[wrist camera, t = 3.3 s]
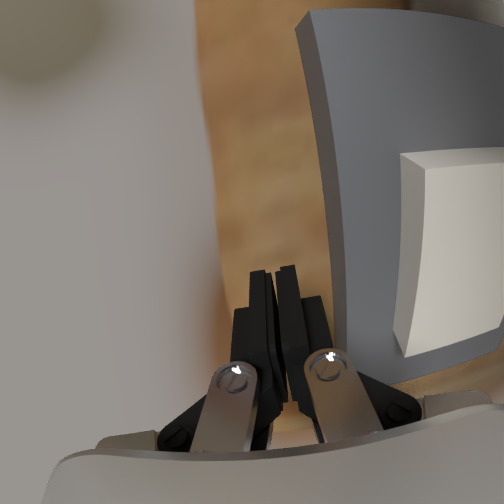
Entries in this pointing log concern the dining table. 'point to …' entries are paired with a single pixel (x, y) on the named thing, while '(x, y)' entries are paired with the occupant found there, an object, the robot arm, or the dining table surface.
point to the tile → (450, 247)
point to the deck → (392, 154)
